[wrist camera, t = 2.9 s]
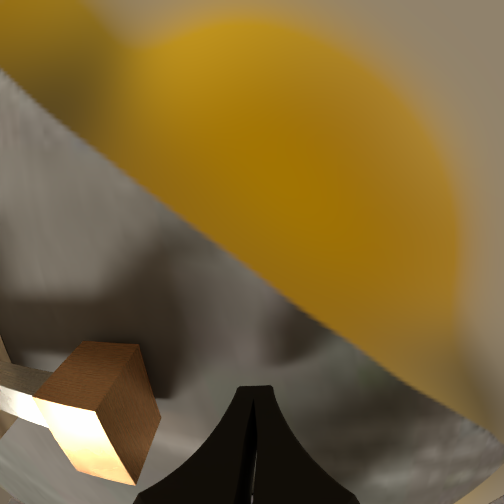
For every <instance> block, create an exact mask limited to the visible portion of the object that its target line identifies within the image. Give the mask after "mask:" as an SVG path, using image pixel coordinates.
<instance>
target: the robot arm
mask: <svg viewBox="0 0 504 504" xmlns="http://www.w3.org/2000/svg"><path fill="white" fill-rule="evenodd" d="M256 452H257V457H256ZM255 460H256V471H255V483H254V493H253V495H252V482H253V475H254V468H255ZM7 504H24V503H22V502H20V501H19V500H17V499H15V498H13V497H11V498H10V500H9V501H8V503H7ZM133 504H360V503H359V501H358V500H357V498H356V496H355V495H354V494H353V493H351V492H350V491H348V490H347V489H346V488H344V487H343V486H342V485H340V484H339V483H338V482H336V481H335V480H334V479H333V478H332V477H330V476H329V475H328V474H327V473H326V472H325V471H324V470H323V469H322V468H321V467H320V466H319V465H318V464H317V463H316V462H315V461H314V460H313V459H312V458H311V457H310V455H309V454H308V453H307V452H306V451H305V449H304V448H303V447H302V446H301V444H300V443H299V441H298V440H297V439H296V437H295V436H294V434H293V432H292V431H291V429H290V428H289V426H288V424H287V422H286V421H285V419H284V417H283V415H282V413H281V411H280V408H279V406H278V403H277V401H276V398H275V395H274V390H273V387H272V386H271V385H266V386H240V387H238V388H237V390H236V393H235V395H234V398H233V400H232V402H231V404H230V405H229V407H228V409H227V411H226V412H225V414H224V416H223V417H222V419H221V421H220V422H219V424H218V425H217V426H216V428H215V429H214V431H213V432H212V433H211V435H210V436H209V437H208V438H207V440H206V441H205V442H204V443H203V444H202V446H201V447H200V448H199V449H198V450H197V451H196V452H195V453H194V454H193V455H192V456H191V457H190V458H189V459H188V460H187V461H186V462H184V463H183V464H182V465H181V466H180V467H179V468H177V469H176V470H175V471H173V472H172V473H171V474H169V475H168V476H167V477H165V478H164V479H162V480H161V481H159V482H158V483H156V484H154V485H153V486H151V487H149V488H148V489H146V490H144V491H142V492H140V493H139V494H138V495H137V497H136V499H135V501H134V503H133ZM489 504H504V495H503V496H501V497H500V498H498V499H496V500H494V501H492V502H491V503H489Z"/></svg>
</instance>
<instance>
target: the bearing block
mask: <svg viewBox="0 0 504 504" xmlns="http://www.w3.org/2000/svg"><path fill="white" fill-rule="evenodd" d="M0 360H1V361H4V362H8V363H11V361H10V358H9V356H8V354H7V351H6V349H5V346H4V344H3V341H2V338H1V336H0ZM17 418H18V416H15V415H13V414H10V413H8V412H5V411H3V410H0V439H1V438H2V437H3V435H4V434H5V433H6V432H7V430H8V429H9V428H10V427H11V425H12V424H13V423H14V422H15V421H16V419H17Z"/></svg>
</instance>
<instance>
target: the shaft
mask: <svg viewBox="0 0 504 504" xmlns="http://www.w3.org/2000/svg"><path fill="white" fill-rule="evenodd" d="M0 410H3V411H5V412H8V413H10V414H13V415H15V416H18V417H20V418H23V419H26V420H28V421H31V422H34V423H37V424H40V425H43V426H46V427H49V428H50V430H51V432H52V433H53V435H54V437H55V438H56V440H57V441H58V443H59V445H60V446H61V448H62V449H63V451H64V452H65V454H66V455H67V457H68V458H69V459H70V461H71V462H72V464H73V465H74V467H75V468H76V469H77V471H80V472H84V473H87V474H90V475H94V476H98V477H101V478H105V479H109V480H113V481H117V482H121V483H126V484H131V485H136V484H137V481H138V479H139V476H140V473H141V470H142V468H143V465H144V462H145V460H146V457H147V454H148V452H149V449H150V446H151V444H152V441H153V438H154V436H155V433H156V430H157V428H158V425H159V423H160V420H161V416H160V413H159V410H158V407H157V404H156V401H155V398H154V395H153V392H152V388H151V385H150V382H149V379H148V375H147V372H146V369H145V365H144V362H143V358H142V354H141V351H140V347H139V344H123V343H107V342H93V341H83V342H82V343H81V344H80V345H79V346H78V347H77V348H76V349H75V350H74V351H73V352H72V353H71V354H70V355H69V357H68V358H67V359H66V360H65V361H64V362H63V363H62V364H61V365H60V366H59V367H58V368H57V369H56V371H55V372H54V373H53V372H48V371H43V370H38V369H34V368H29V367H25V366H20V365H16V364H12V363H8V362H4V361H1V360H0Z"/></svg>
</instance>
